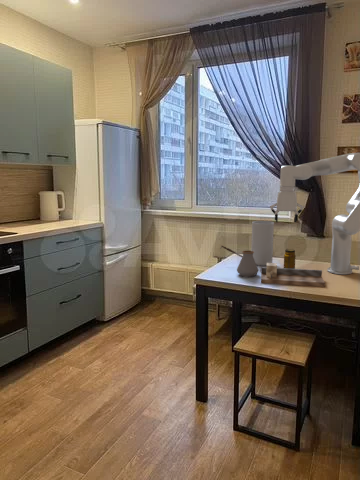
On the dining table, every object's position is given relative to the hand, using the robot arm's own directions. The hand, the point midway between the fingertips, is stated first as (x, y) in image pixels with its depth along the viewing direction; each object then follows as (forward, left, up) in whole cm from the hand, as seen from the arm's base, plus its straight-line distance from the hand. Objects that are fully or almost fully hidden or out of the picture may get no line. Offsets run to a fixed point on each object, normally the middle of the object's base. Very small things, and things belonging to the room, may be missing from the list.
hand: (286, 221), depth 196 cm
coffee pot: (+24, +7, -28) cm, 38 cm away
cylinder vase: (+12, -19, -28) cm, 36 cm away
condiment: (-4, -5, -28) cm, 29 cm away
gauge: (+7, +16, -26) cm, 31 cm away
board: (-3, +15, -28) cm, 32 cm away
